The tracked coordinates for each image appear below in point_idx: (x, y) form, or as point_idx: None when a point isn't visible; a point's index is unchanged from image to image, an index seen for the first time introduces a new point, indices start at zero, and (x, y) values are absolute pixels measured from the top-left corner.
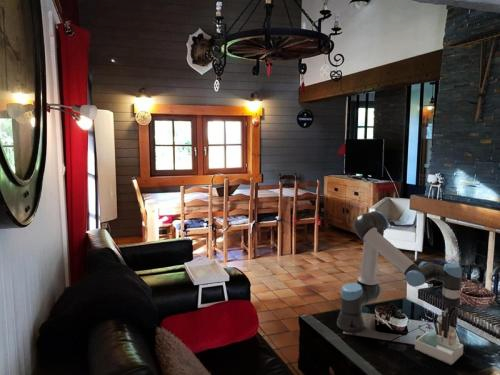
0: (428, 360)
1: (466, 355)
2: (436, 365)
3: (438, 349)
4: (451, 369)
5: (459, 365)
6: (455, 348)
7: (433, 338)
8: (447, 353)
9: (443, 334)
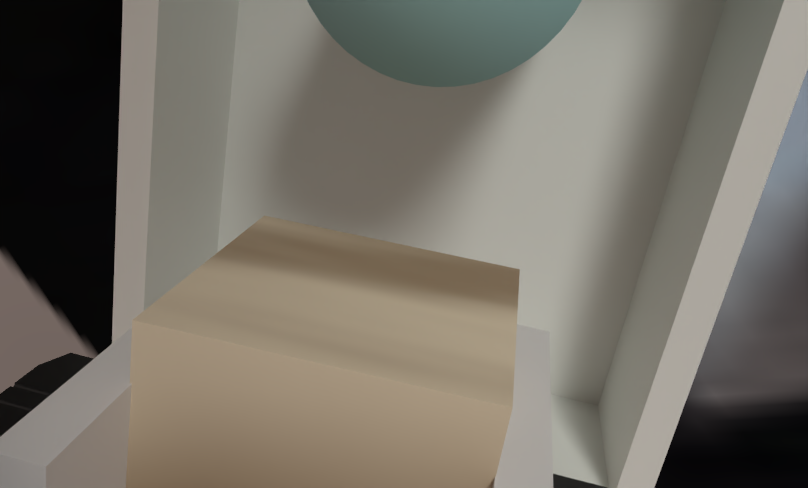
0: (78, 14)
1: None
2: (41, 150)
3: (125, 172)
4: (98, 334)
5: None
6: (625, 356)
7: (320, 7)
8: (113, 333)
9: (92, 371)
